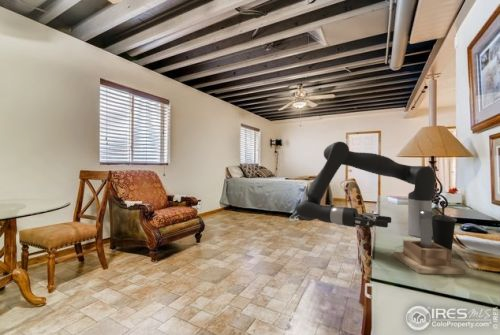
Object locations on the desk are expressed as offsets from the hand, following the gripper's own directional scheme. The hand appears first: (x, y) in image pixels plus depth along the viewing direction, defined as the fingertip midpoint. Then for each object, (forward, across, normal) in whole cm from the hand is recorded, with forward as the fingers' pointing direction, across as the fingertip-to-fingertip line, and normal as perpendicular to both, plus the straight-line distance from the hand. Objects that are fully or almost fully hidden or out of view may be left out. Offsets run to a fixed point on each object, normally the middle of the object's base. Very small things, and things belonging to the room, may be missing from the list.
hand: (389, 222), depth 86 cm
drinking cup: (+16, +16, +13) cm, 26 cm away
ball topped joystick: (+11, 0, +11) cm, 16 cm away
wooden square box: (+11, 0, +13) cm, 17 cm away
